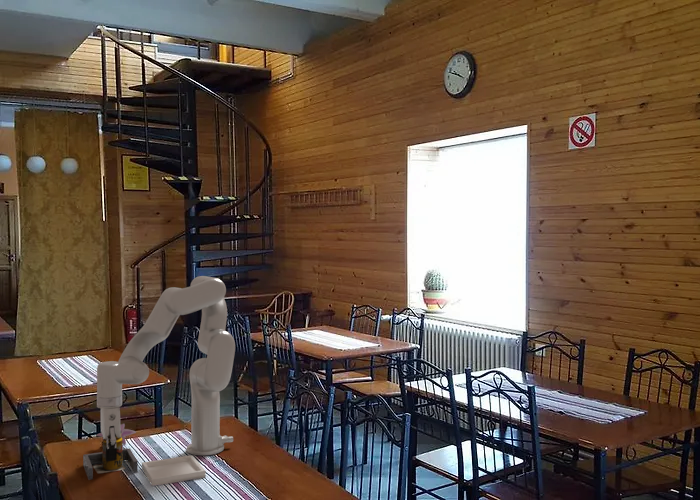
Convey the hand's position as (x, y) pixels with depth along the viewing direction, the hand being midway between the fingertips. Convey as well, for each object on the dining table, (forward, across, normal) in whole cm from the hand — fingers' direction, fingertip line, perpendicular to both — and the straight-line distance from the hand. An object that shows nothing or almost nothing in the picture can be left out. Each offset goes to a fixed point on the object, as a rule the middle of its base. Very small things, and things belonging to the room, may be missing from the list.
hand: (109, 456), depth 213 cm
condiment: (+4, 0, 0) cm, 4 cm away
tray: (+4, -13, -17) cm, 22 cm away
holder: (+4, -1, 0) cm, 4 cm away
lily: (+4, +20, -5) cm, 21 cm away
